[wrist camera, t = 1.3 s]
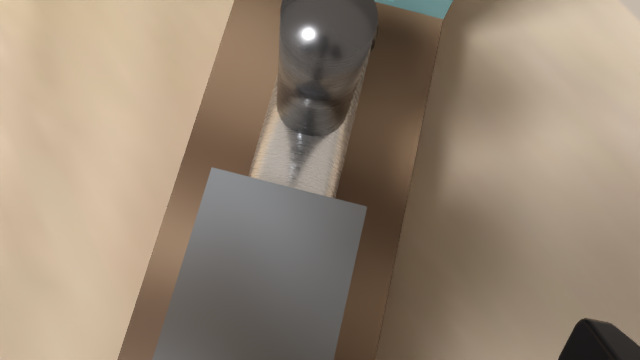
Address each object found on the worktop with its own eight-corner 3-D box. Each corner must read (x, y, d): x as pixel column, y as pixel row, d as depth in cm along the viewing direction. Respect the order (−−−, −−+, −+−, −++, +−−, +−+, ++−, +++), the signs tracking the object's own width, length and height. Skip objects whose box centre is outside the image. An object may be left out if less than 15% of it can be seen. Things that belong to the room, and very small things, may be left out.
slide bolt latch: (318, 589, 19) (342, 694, 13) (75, 530, 19) (-11, 609, 13) (443, -21, 26) (496, -132, 20) (266, -68, 26) (266, -193, 20)
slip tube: (280, 432, 18) (290, 486, 11) (183, 409, 18) (125, 446, 11) (370, 52, 22) (424, -103, 15) (291, 31, 22) (305, -135, 14)
